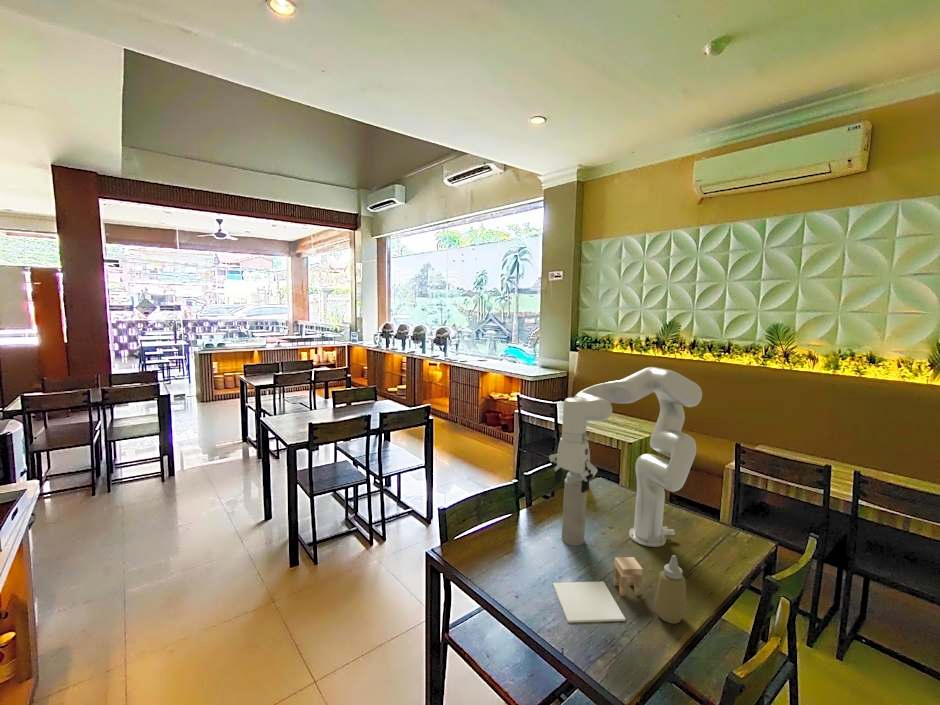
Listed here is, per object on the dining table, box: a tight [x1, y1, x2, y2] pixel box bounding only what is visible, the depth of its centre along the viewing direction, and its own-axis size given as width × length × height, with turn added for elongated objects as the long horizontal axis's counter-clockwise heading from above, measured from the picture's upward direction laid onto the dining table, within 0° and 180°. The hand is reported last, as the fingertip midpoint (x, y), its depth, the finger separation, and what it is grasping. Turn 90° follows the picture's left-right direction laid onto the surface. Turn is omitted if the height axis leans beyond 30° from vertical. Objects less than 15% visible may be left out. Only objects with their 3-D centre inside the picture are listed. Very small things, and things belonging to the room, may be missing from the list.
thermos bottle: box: [561, 471, 588, 546], centre depth 160 cm, size 8×8×28 cm
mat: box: [552, 581, 626, 624], centre depth 129 cm, size 16×16×1 cm
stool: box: [612, 556, 643, 597], centre depth 134 cm, size 6×6×8 cm
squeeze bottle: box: [653, 554, 687, 625], centre depth 123 cm, size 8×8×18 cm
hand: (571, 486), depth 146 cm, fingers open, 9 cm apart
